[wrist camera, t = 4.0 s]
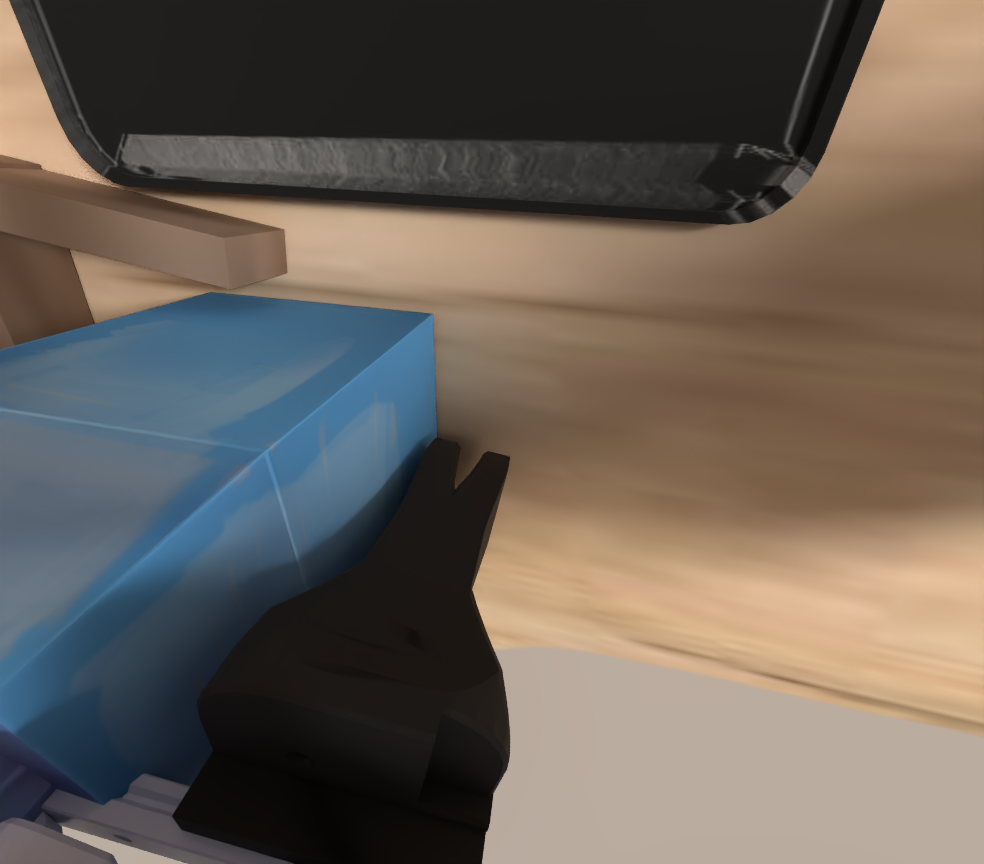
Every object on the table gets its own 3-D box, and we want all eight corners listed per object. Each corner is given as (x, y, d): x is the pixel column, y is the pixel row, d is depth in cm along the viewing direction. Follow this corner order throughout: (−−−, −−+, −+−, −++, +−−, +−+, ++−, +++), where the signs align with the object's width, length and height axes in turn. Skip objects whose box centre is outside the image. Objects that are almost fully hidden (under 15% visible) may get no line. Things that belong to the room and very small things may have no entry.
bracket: (283, 224, 10) (223, 232, 8) (304, 521, 15) (271, 564, 13) (1, 155, 10) (-118, 147, 8) (122, 472, 15) (65, 507, 13)
